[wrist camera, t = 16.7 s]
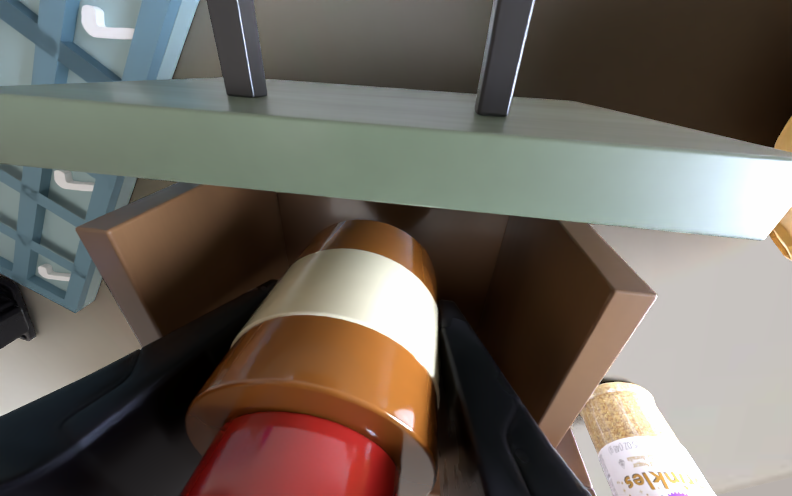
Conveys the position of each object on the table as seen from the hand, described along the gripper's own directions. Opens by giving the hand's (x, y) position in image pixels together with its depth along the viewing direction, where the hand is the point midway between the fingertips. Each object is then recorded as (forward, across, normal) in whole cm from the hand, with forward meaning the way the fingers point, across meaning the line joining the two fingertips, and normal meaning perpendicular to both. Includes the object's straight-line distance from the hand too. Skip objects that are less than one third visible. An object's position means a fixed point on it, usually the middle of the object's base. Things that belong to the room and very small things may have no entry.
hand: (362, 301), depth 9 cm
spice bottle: (+1, 0, 0) cm, 1 cm away
